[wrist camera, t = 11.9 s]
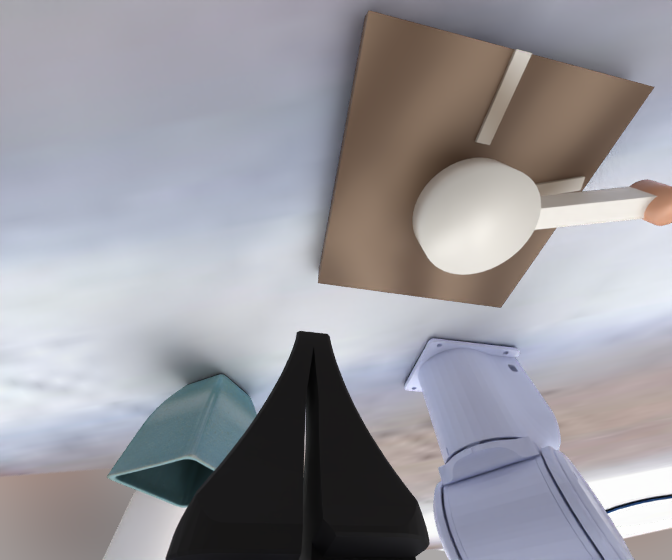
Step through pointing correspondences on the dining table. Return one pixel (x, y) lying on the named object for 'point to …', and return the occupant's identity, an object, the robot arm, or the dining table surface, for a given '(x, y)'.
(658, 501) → the plate
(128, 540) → the mug
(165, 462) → the flower pot
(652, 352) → the dining table surface
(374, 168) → the strip board
